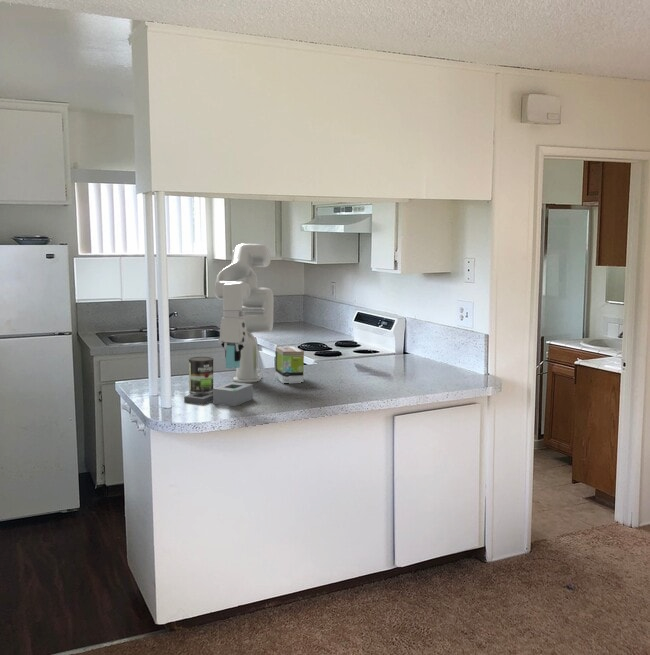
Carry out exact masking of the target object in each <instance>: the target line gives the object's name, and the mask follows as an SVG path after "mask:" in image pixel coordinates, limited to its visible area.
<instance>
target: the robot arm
mask: <svg viewBox="0 0 650 655" xmlns="http://www.w3.org/2000/svg"><path fill="white" fill-rule="evenodd" d="M271 262H272V255H271V251H270V250H269V248H268V247H267V246H266V245H265V244H262V243H240V244H237V245H236V246H235V247H234V249H233V250H232V252H231V262H230V264H229V265H227V266H226V267H224V268H223V269H222V270H220V271H219V272H218V274H217V276H216V278H215V284H214V288H213V292H214V296H215V298H216V299H218V300H221V301H222V306H223V307H222V309H223V311H222V313H223V314H222V315H223V316H222V317H221V321H220V326H219V328H220V329H219V337H218V340H217V343H218V344H219V345H221V346H222V348H223V350H224V353H225V354H224V355H225V358H226V345H229V343H235V346H236V351H235V361H239V360H240V368H235V369H236V370H235V371H236V374H235V375H236V376H234V377H233V378H232V380H233V381H232V382H237V383H246V384H252V383H257V381H258V382H260V381H261V380H262V379H261V376H259V375H258V374H260V373H261V372H262V370H261V368H258V340H257V338H256V337H255V336H254V335H253V334H255V333H260V334H261V333H262V334H263V333H264V334H265V333H271V332H272V331H273V327H274V302H275V300H274V293H273V291H272V289H271V288H269V287H258V276H257V273H256V272H255V271H254V270H253V268H266V267H268V266H270V264H271ZM243 309H262V310H263V311H260V310H259V311H255V310H243ZM251 382H252V383H251Z"/></svg>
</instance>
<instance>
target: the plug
mask: <svg viewBox="0 0 650 655" xmlns="http://www.w3.org/2000/svg"><path fill="white" fill-rule="evenodd" d="M235 351H236V346H235V343H229V345H226V357H225V369H232V370H233V369H236V368H240V360H239V361H235Z"/></svg>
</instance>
